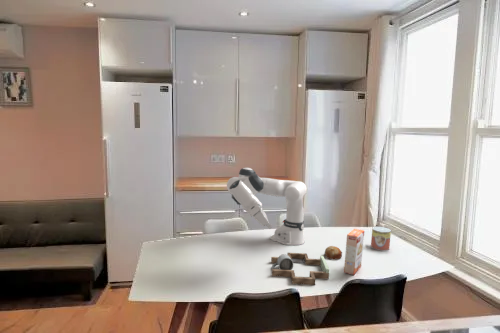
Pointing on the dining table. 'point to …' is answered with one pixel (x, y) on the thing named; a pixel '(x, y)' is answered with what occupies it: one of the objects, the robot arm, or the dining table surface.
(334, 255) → the bread roll
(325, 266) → the sage end wall
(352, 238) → the cracker box
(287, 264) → the ceramic mug
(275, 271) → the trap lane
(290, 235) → the robot arm
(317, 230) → the dining table surface
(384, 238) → the canned food
